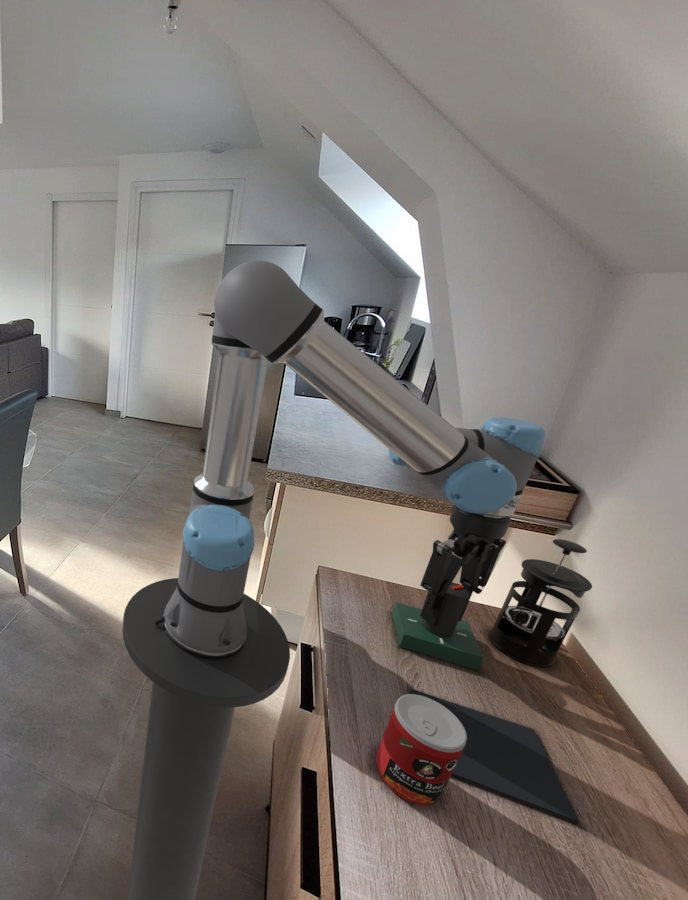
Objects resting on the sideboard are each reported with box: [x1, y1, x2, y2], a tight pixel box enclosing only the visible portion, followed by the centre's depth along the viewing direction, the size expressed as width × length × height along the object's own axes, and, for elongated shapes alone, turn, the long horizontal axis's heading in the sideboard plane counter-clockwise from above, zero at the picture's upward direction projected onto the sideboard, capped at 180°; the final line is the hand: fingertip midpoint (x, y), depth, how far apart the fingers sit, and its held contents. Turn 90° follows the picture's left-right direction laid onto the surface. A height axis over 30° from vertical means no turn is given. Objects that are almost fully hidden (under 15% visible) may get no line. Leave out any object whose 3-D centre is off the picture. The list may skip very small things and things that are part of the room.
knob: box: [421, 581, 469, 637], centre depth 84 cm, size 5×5×9 cm
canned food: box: [375, 693, 467, 806], centre depth 60 cm, size 8×8×11 cm
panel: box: [391, 602, 485, 671], centre depth 86 cm, size 12×10×3 cm
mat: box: [409, 688, 580, 825], centre depth 66 cm, size 16×14×1 cm
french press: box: [487, 538, 593, 669], centre depth 82 cm, size 12×9×23 cm
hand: (440, 618), depth 85 cm, fingers closed on knob, 5 cm apart
